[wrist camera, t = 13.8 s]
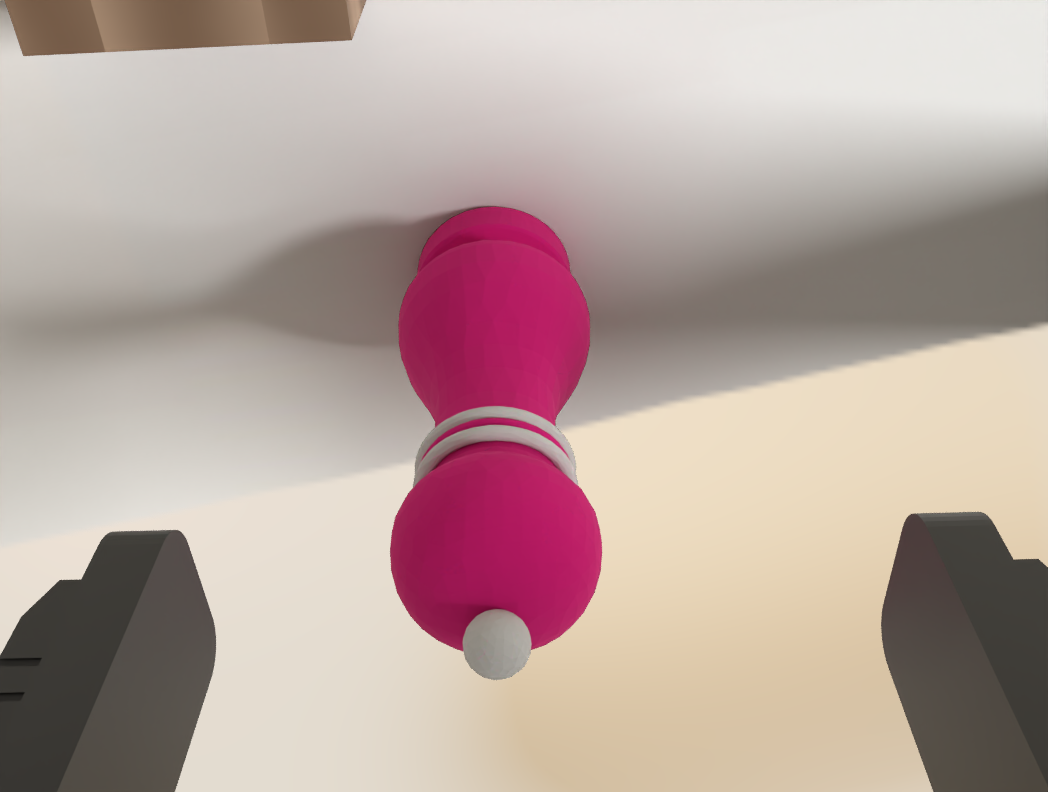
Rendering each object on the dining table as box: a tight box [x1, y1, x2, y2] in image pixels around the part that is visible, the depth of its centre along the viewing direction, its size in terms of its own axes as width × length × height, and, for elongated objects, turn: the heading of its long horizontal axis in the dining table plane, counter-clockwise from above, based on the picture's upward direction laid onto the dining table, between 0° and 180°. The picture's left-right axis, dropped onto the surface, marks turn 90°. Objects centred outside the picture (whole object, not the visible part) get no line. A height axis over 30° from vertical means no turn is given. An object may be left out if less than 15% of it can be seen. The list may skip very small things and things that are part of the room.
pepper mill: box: [390, 207, 602, 680], centre depth 33 cm, size 7×7×20 cm
